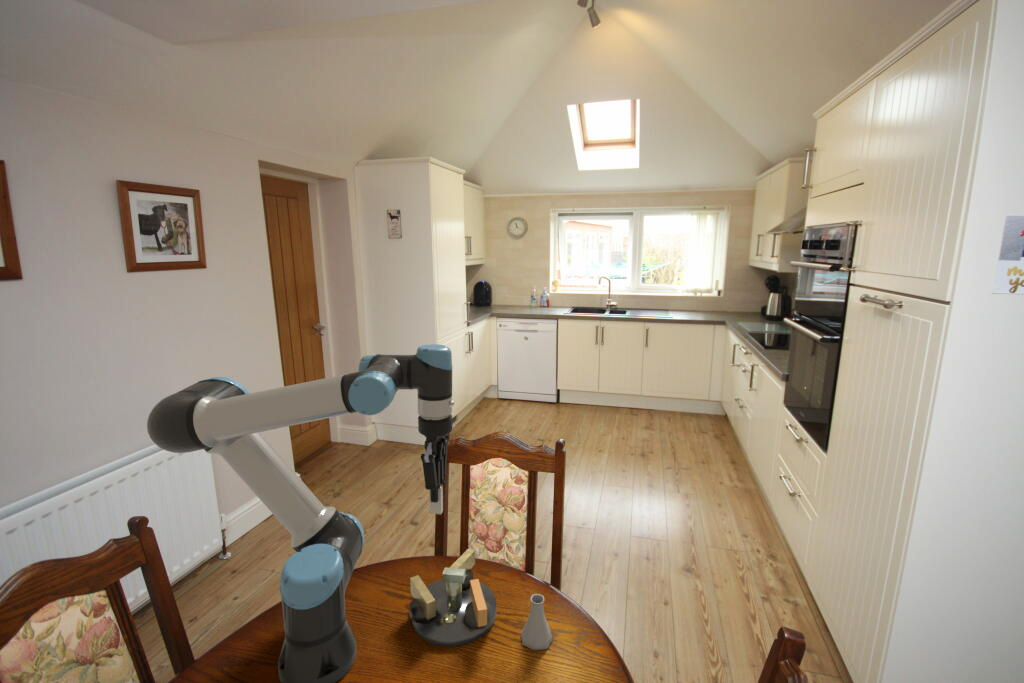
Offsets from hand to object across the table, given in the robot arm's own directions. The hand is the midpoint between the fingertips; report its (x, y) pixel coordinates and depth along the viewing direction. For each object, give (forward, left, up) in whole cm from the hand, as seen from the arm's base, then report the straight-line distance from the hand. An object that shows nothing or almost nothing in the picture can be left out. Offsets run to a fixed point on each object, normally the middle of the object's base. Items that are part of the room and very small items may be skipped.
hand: (436, 511), depth 109 cm
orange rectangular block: (+11, -4, -23) cm, 26 cm away
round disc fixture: (+4, +1, -26) cm, 26 cm away
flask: (+24, -5, -26) cm, 36 cm away
